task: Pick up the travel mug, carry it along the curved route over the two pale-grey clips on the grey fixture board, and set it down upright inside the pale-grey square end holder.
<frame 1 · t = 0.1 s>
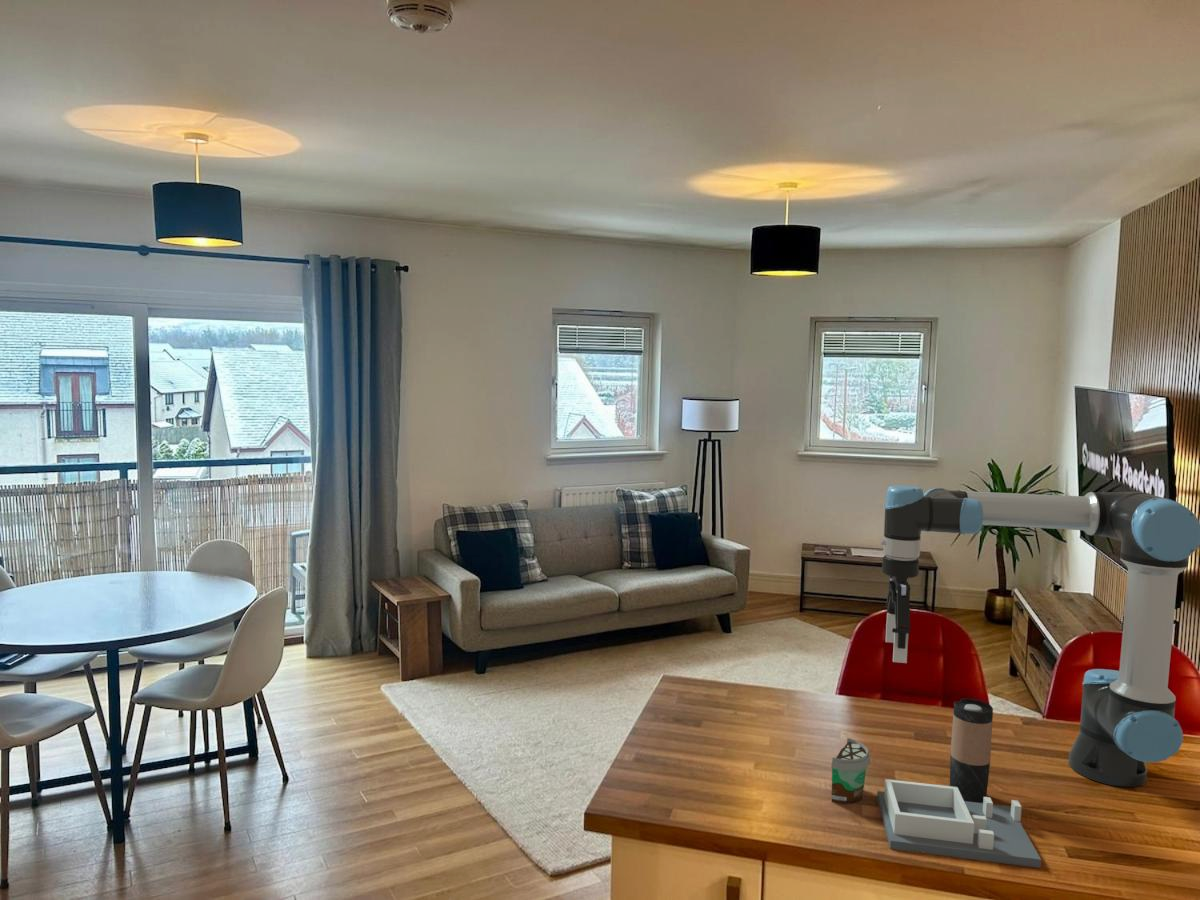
hand: (895, 651, 182), 28 cm above the counter, fingers open, 13 cm apart
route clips: (989, 832, 161), resting on grey fixture board
end holder: (925, 827, 162), resting on grey fixture board
travel mug: (967, 797, 175), on the counter
grey fixture board: (952, 830, 161), on the counter
food container: (852, 797, 174), on the counter
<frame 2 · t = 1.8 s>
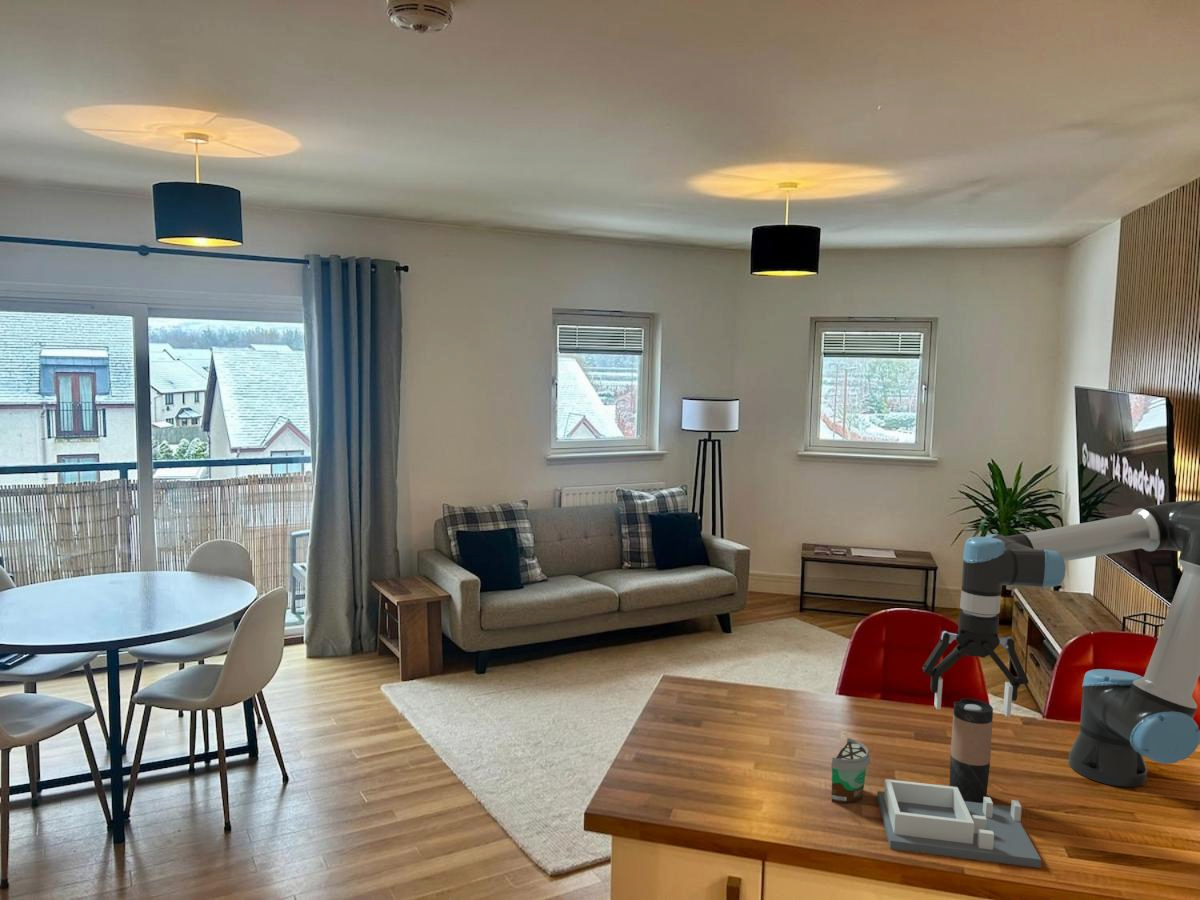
hand: (971, 711, 173), 19 cm above the counter, fingers open, 13 cm apart
nothing on the counter moved.
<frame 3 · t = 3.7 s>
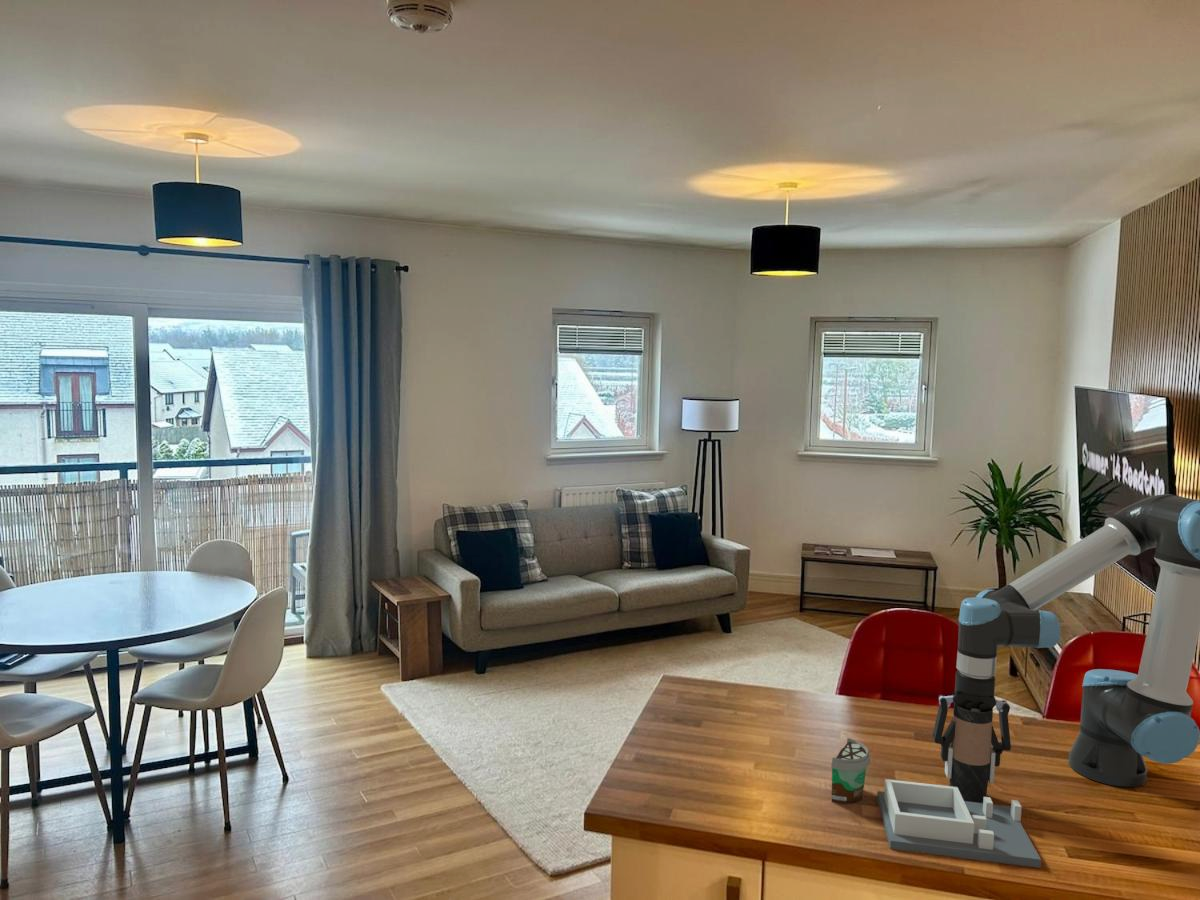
hand: (968, 777, 175), 4 cm above the counter, fingers closed on travel mug, 8 cm apart
travel mug: (967, 797, 175), on the counter, touching gripper
everything else where it was.
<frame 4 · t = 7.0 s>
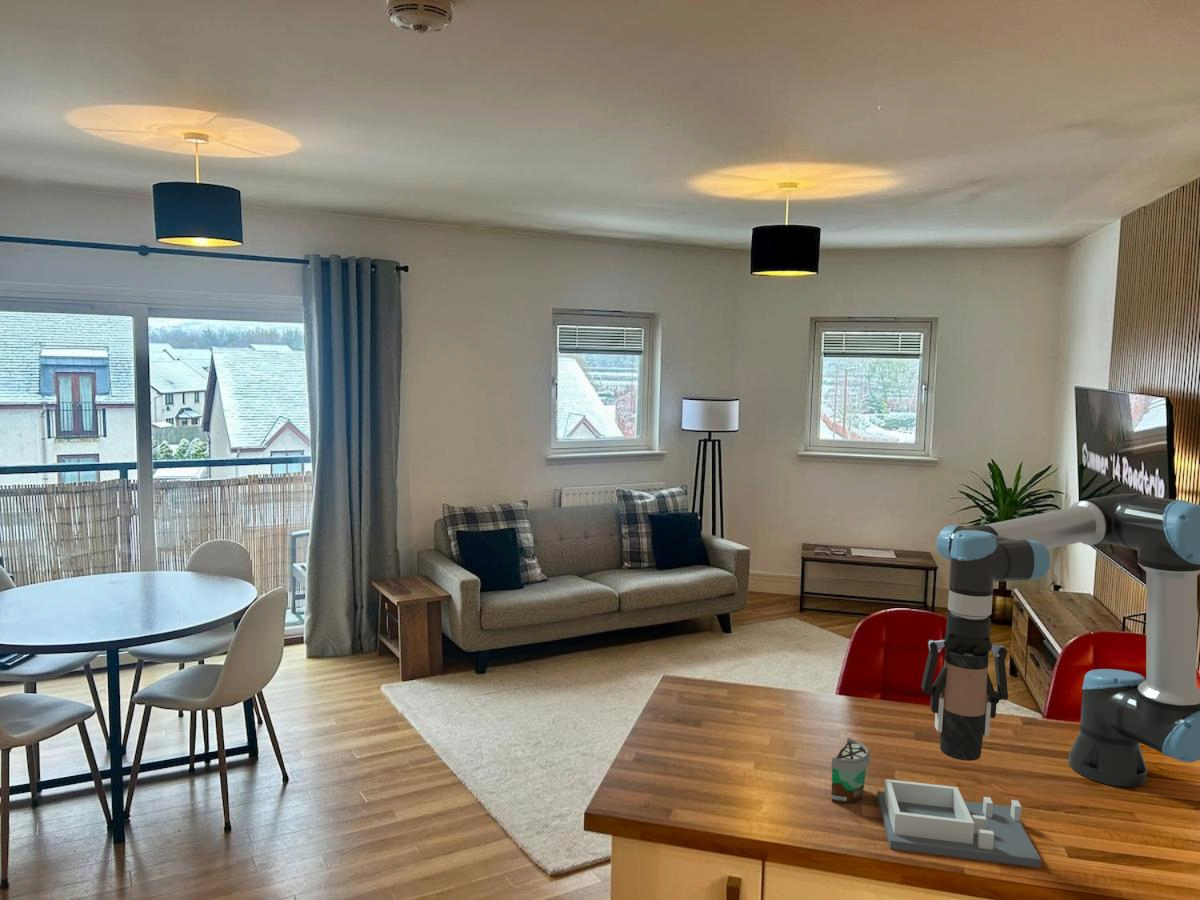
hand: (961, 731, 157), 21 cm above the counter, fingers closed on travel mug, 8 cm apart
travel mug: (960, 753, 157), point 17 cm above the counter, touching gripper
everything else where it was.
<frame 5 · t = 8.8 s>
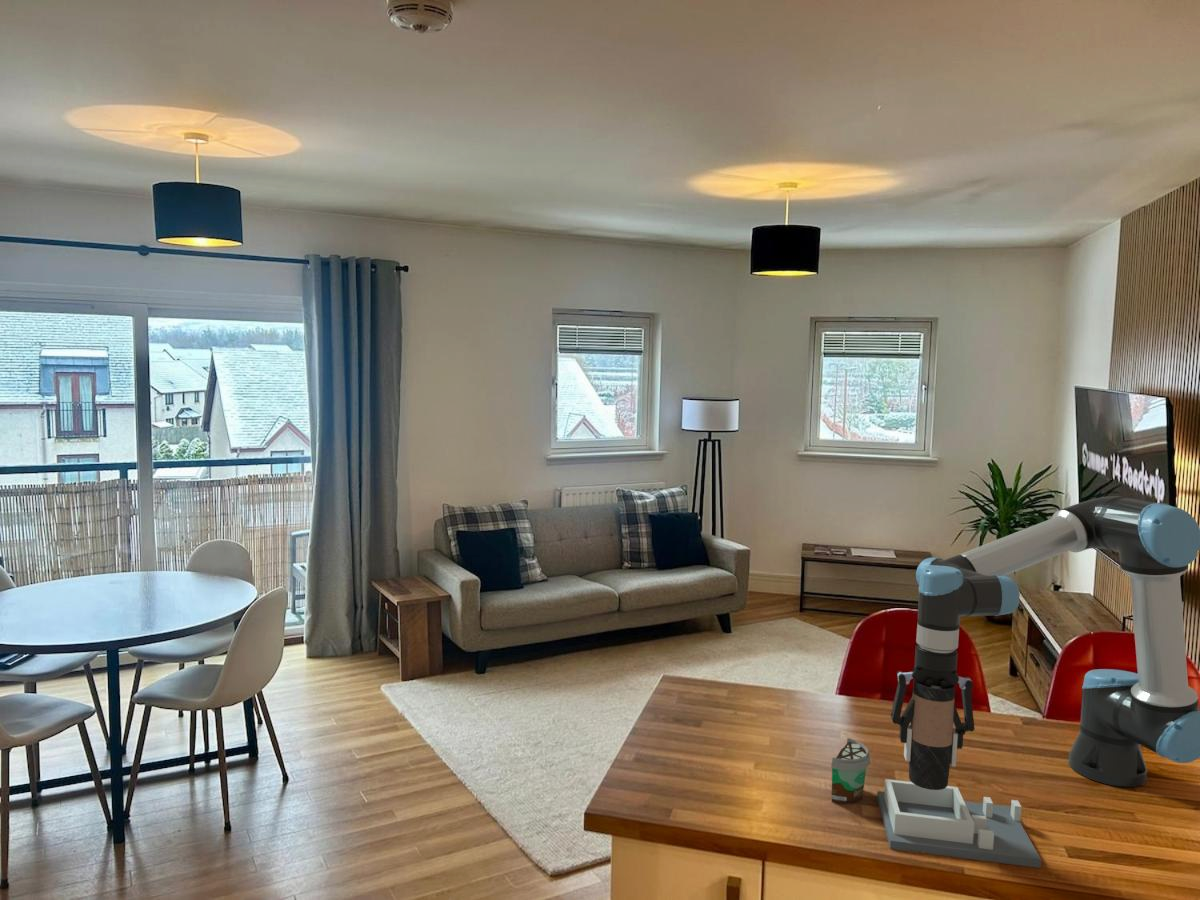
hand: (929, 760, 161), 14 cm above the counter, fingers closed on travel mug, 8 cm apart
travel mug: (928, 782, 162), point 9 cm above the counter, touching gripper
everything else where it was.
when the fingers open (7 cm above the counter, at t = 10.4 s): travel mug drops 1 cm, resting on grey fixture board.
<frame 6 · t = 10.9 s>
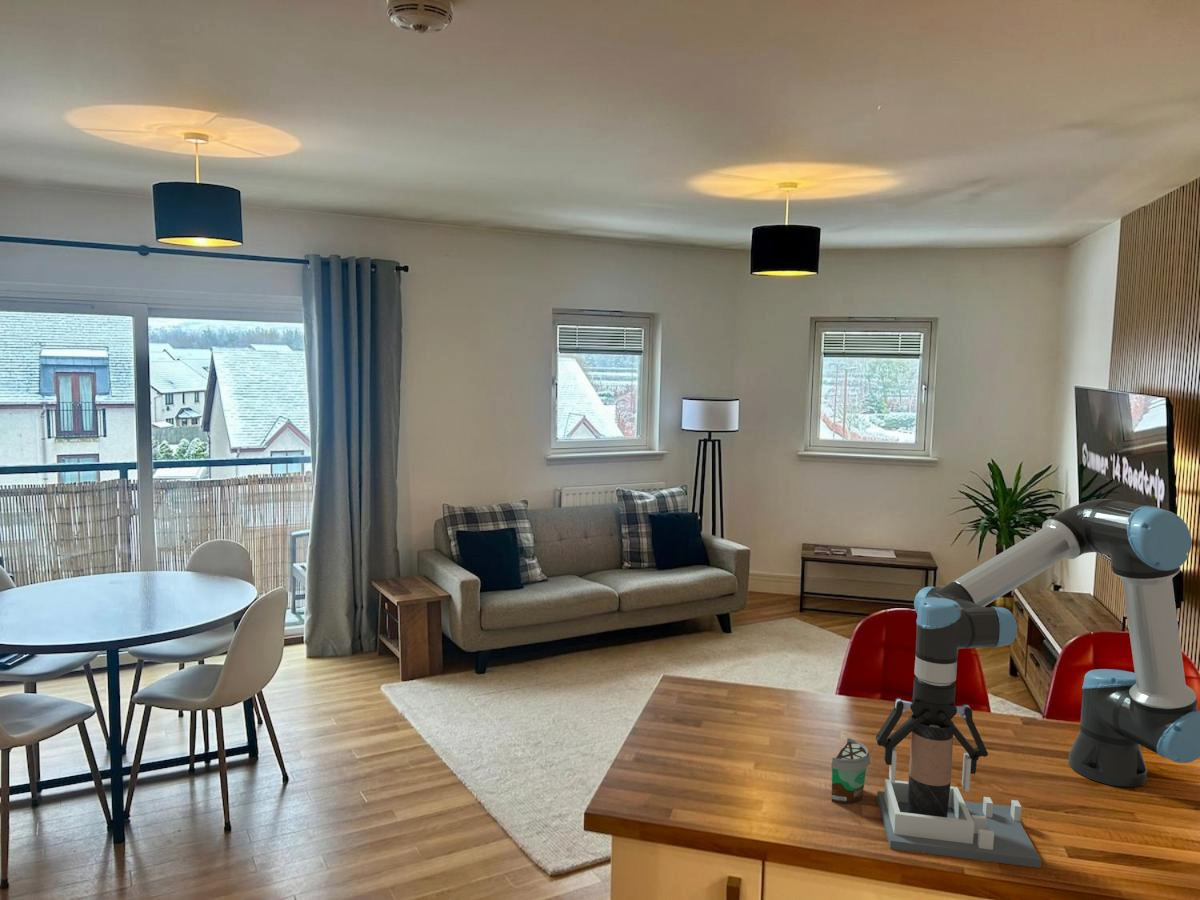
hand: (928, 784, 162), 9 cm above the counter, fingers open, 13 cm apart
travel mug: (926, 820, 162), point 1 cm above the counter, touching grey fixture board
everything else where it was.
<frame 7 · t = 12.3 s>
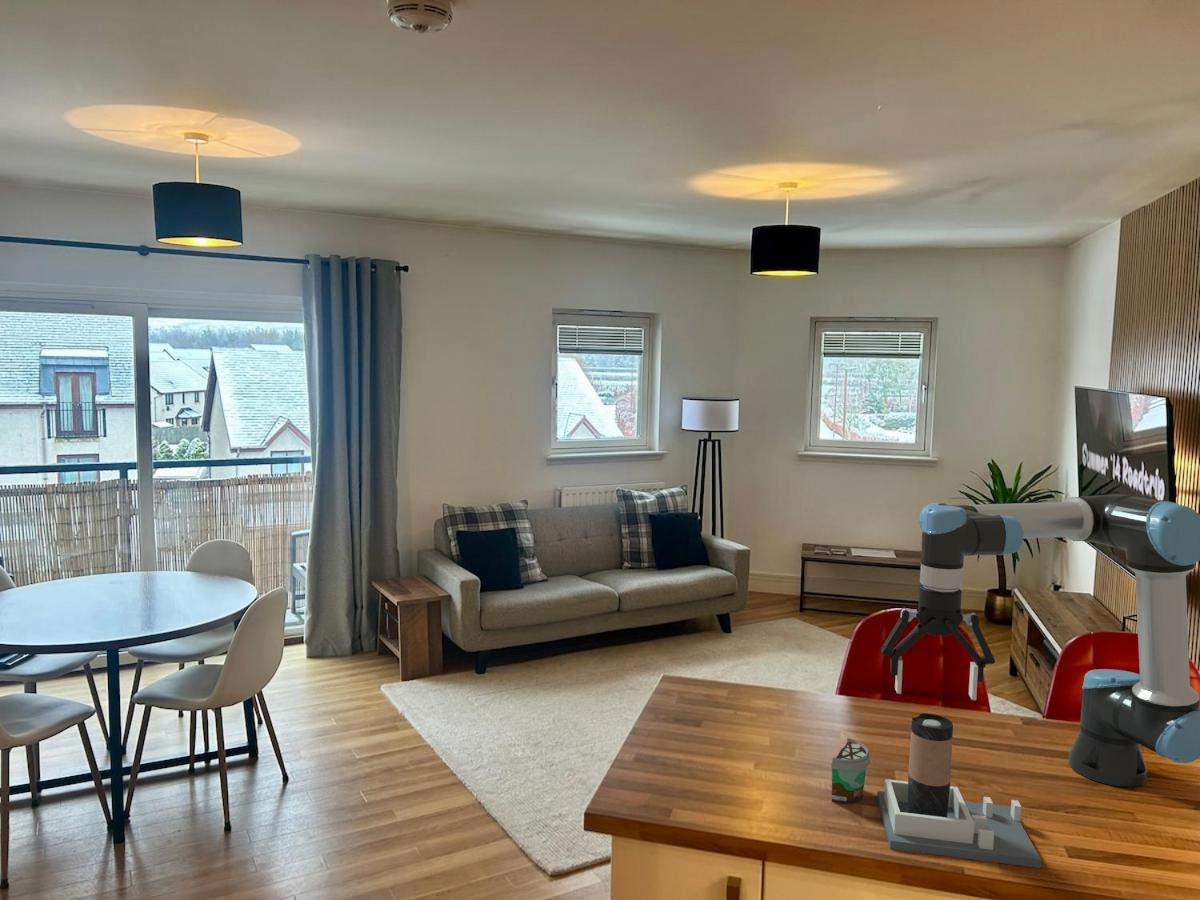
hand: (934, 694, 160), 27 cm above the counter, fingers open, 13 cm apart
nothing on the counter moved.
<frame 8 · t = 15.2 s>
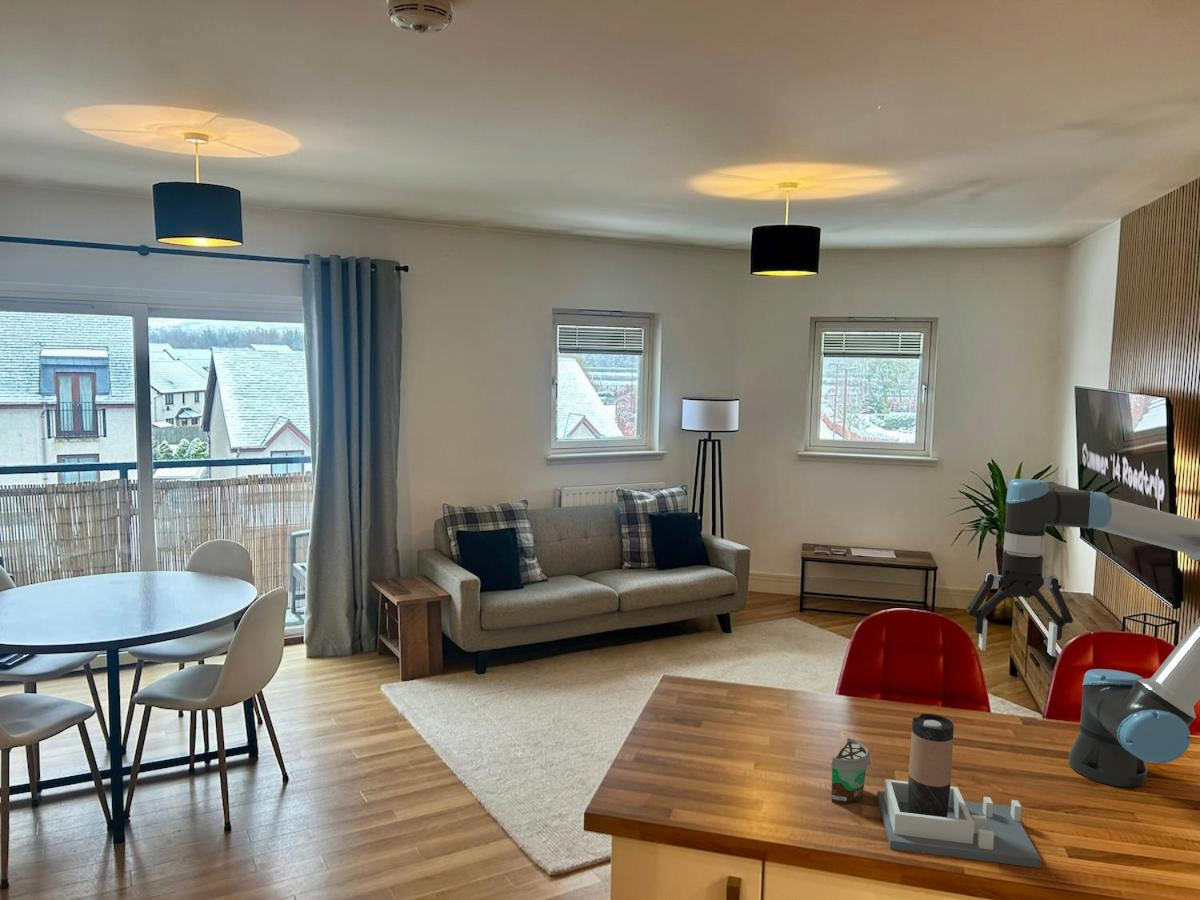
hand: (1016, 651, 175), 31 cm above the counter, fingers open, 13 cm apart
nothing on the counter moved.
at the end: travel mug inside the target area (0.1 cm from its centre), point 1.4 cm above the counter; travel mug tilted 0°; the gripper is holding nothing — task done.
